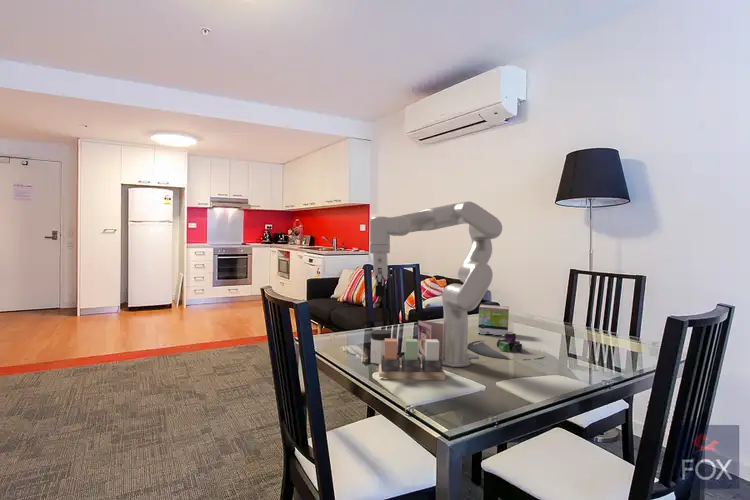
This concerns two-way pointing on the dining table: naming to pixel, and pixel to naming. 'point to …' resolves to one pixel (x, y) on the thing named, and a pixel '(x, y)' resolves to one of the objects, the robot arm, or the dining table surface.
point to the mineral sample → (503, 344)
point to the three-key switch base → (411, 369)
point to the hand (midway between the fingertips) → (380, 294)
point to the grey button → (431, 350)
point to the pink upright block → (390, 349)
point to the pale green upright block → (411, 349)
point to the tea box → (493, 319)
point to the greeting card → (429, 336)
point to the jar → (378, 344)
